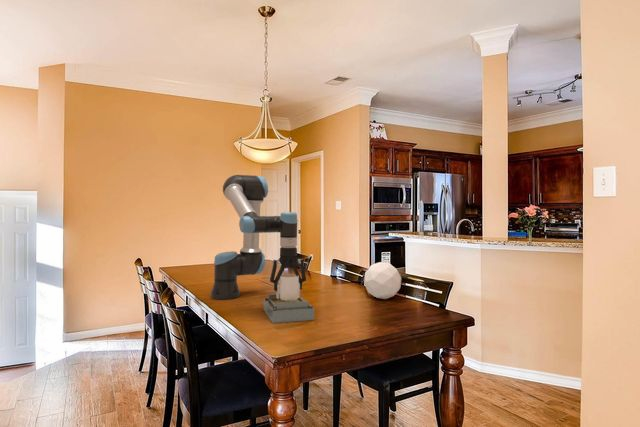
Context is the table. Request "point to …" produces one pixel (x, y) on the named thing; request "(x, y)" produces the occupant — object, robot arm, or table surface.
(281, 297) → the cup
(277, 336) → the table surface
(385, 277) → the geometric sphere
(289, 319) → the silver and gold block
